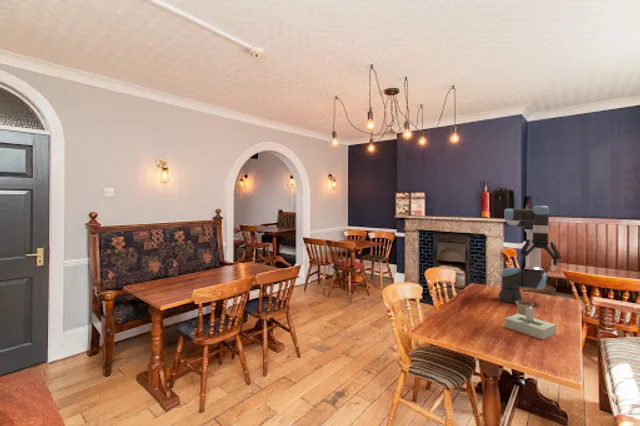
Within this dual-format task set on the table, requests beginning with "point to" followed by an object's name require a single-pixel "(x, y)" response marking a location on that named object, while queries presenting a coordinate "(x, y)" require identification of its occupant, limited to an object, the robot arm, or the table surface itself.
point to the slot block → (530, 326)
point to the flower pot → (523, 306)
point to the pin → (529, 314)
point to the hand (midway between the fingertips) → (539, 268)
